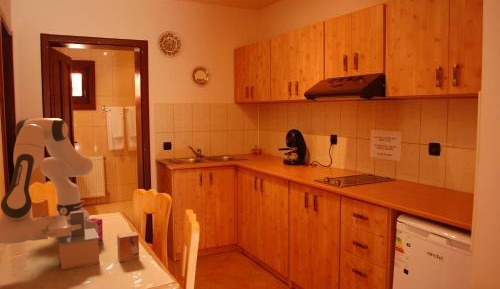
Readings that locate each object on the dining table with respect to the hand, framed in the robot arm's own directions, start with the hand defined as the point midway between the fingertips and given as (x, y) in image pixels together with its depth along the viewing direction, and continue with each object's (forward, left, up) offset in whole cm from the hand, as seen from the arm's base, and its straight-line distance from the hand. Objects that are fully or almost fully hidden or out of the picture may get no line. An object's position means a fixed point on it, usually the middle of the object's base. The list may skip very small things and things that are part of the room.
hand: (79, 223), depth 168 cm
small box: (-3, +19, -16) cm, 25 cm away
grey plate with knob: (0, -1, -6) cm, 6 cm away
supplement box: (-21, -4, -16) cm, 26 cm away
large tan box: (0, -1, -16) cm, 16 cm away
